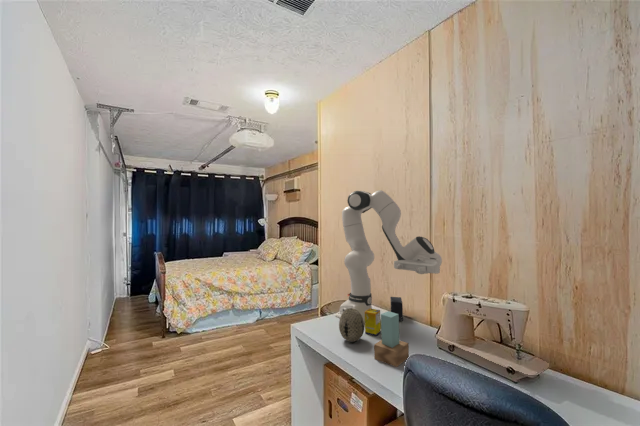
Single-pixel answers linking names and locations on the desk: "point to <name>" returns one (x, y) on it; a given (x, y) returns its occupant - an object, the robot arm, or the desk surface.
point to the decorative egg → (351, 325)
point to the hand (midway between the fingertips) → (407, 268)
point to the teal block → (390, 329)
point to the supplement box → (372, 322)
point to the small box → (397, 306)
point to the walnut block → (391, 353)
